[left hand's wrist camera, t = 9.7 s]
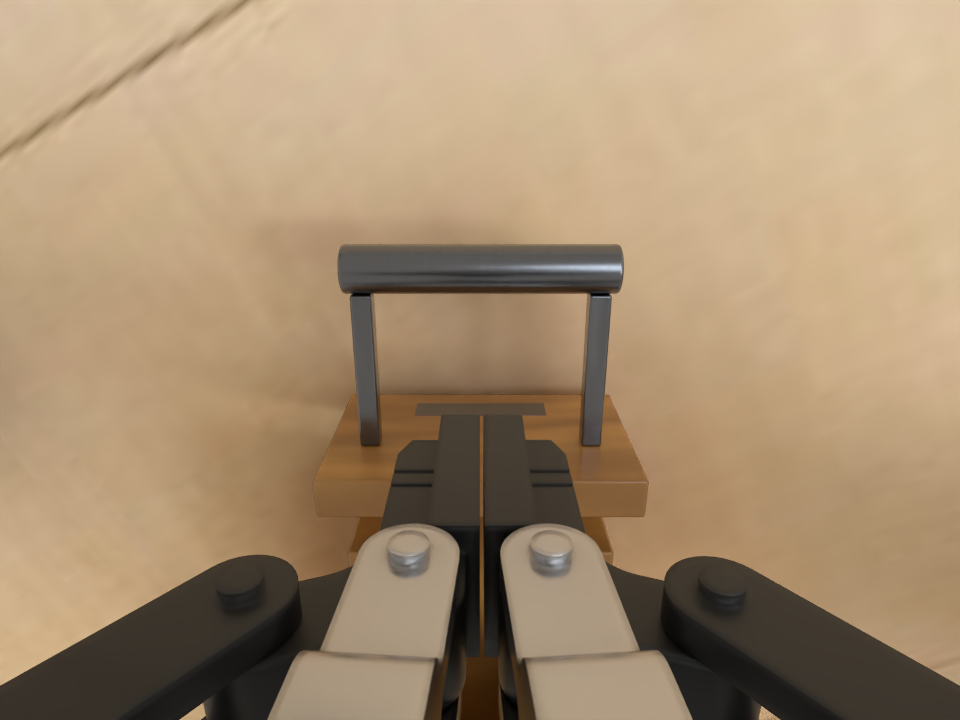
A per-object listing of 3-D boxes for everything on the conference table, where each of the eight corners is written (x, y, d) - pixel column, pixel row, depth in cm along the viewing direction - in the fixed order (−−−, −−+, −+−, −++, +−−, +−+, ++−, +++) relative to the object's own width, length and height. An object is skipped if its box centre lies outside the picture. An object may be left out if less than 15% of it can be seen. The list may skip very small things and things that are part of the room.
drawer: (338, 223, 21) (288, 262, 16) (622, 223, 21) (672, 262, 16) (378, 746, 30) (355, 892, 24) (582, 746, 30) (605, 892, 24)
